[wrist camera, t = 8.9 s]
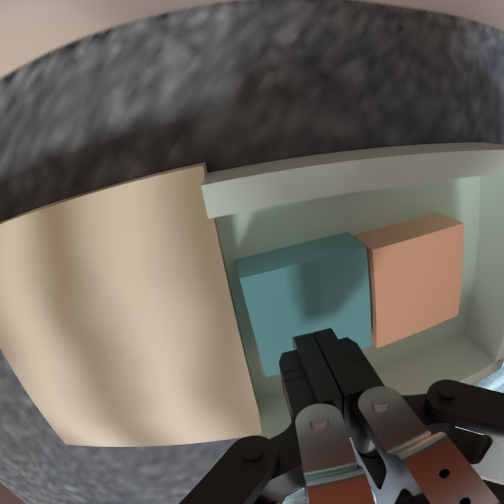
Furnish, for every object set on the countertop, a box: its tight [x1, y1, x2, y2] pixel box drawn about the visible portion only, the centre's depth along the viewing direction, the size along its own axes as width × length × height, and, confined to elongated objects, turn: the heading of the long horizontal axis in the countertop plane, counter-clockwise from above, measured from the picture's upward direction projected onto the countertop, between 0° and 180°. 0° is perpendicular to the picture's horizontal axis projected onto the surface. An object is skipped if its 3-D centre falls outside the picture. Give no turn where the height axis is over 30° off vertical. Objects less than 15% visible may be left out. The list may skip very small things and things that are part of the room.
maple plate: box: [0, 163, 262, 447], centre depth 14 cm, size 13×14×2 cm
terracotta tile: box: [353, 213, 464, 348], centre depth 14 cm, size 5×5×2 cm
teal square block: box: [236, 232, 371, 377], centre depth 13 cm, size 5×5×2 cm
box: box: [201, 142, 504, 439], centre depth 13 cm, size 15×13×4 cm
